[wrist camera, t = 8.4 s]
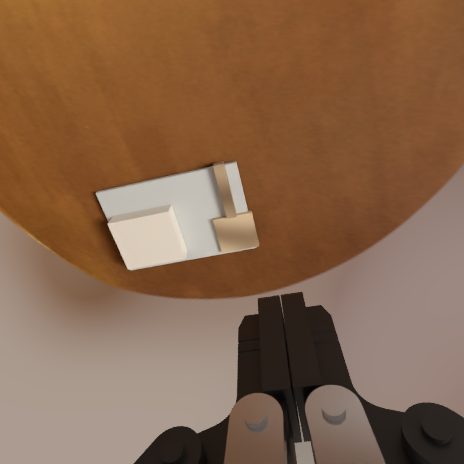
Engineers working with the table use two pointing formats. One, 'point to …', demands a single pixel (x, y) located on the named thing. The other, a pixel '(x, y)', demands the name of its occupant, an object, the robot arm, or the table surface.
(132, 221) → the tile
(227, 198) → the turner
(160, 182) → the mat
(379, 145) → the table surface
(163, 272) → the table surface
